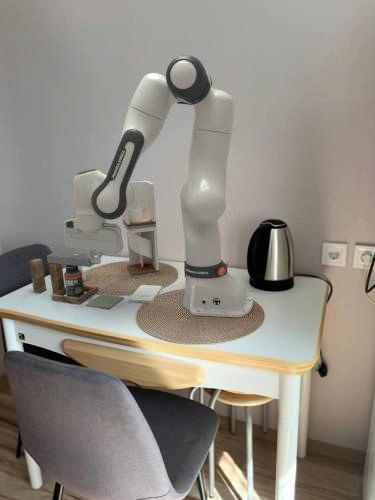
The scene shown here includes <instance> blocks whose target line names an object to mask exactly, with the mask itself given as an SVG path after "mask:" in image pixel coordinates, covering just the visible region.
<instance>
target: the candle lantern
mask: <svg viewBox="0 0 375 500" xmlns="http://www.w3.org/2000/svg"><path fill="white" fill-rule="evenodd" d="M129 184H130V185H131V186H132V188H133V191H134V199H133V201H132V203H131V204H130V206H129V207H128V208H127V209H126V210H125V211H124V213H123V214H122V215H121V216H122V226H123V229H124V231H126V238H127V248H128V249H127V250H128V264H126V270H127V272H128V274H129V276H130V278H131V279H132V280H134V279H133V278H135V279H141V278H140V277H142V278H149V277H154V276H153V275H156V276H160V267H159V265H160V264H159V262H160V261H159V248H158V246H159V245H158V234H157V233H158V232H157V218H156V214H157V213H156V203H155V188H154V187H155V186H154V185H155V184H154V183H153V182H151V181H148V180H140V181H139V180H138V181H129ZM148 276H149V277H148Z"/></svg>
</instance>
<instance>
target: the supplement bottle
mask: <svg viewBox="0 0 375 500" xmlns="http://www.w3.org/2000/svg"><path fill="white" fill-rule="evenodd" d="M63 276H64V284H65V287H66V293H67V294H66V296H69V297H76V298H78V297H80V296H82V295H83V294H85V293H86V292H84V285H85V284H84V282H83V277H82V272H81V271H80V270H79V269H78V266H75V265H65V272H63Z"/></svg>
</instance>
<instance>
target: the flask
mask: <svg viewBox="0 0 375 500" xmlns="http://www.w3.org/2000/svg"><path fill="white" fill-rule="evenodd" d="M73 255H79V254H77V253H75V254H73ZM78 269H79V270H80V271H81V272H82V277H83V283H84V282H85V281H87V280H88V277H87V274H86V273H85V271H84V269H83V266H78Z"/></svg>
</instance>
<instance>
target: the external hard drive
mask: <svg viewBox="0 0 375 500" xmlns="http://www.w3.org/2000/svg"><path fill="white" fill-rule="evenodd" d="M162 290H163V286H162V285H147V284H141V285H139V286H138V287H137V289H136V290H135V291H134V292H133V293H132V294H131V296H130V297H129V298H128V300H127V301H128V303H137V304H138V303H141V304H153V302H154V301H155V300H156V298H157V297H158V295H159V294H160V293H161V291H162Z"/></svg>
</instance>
